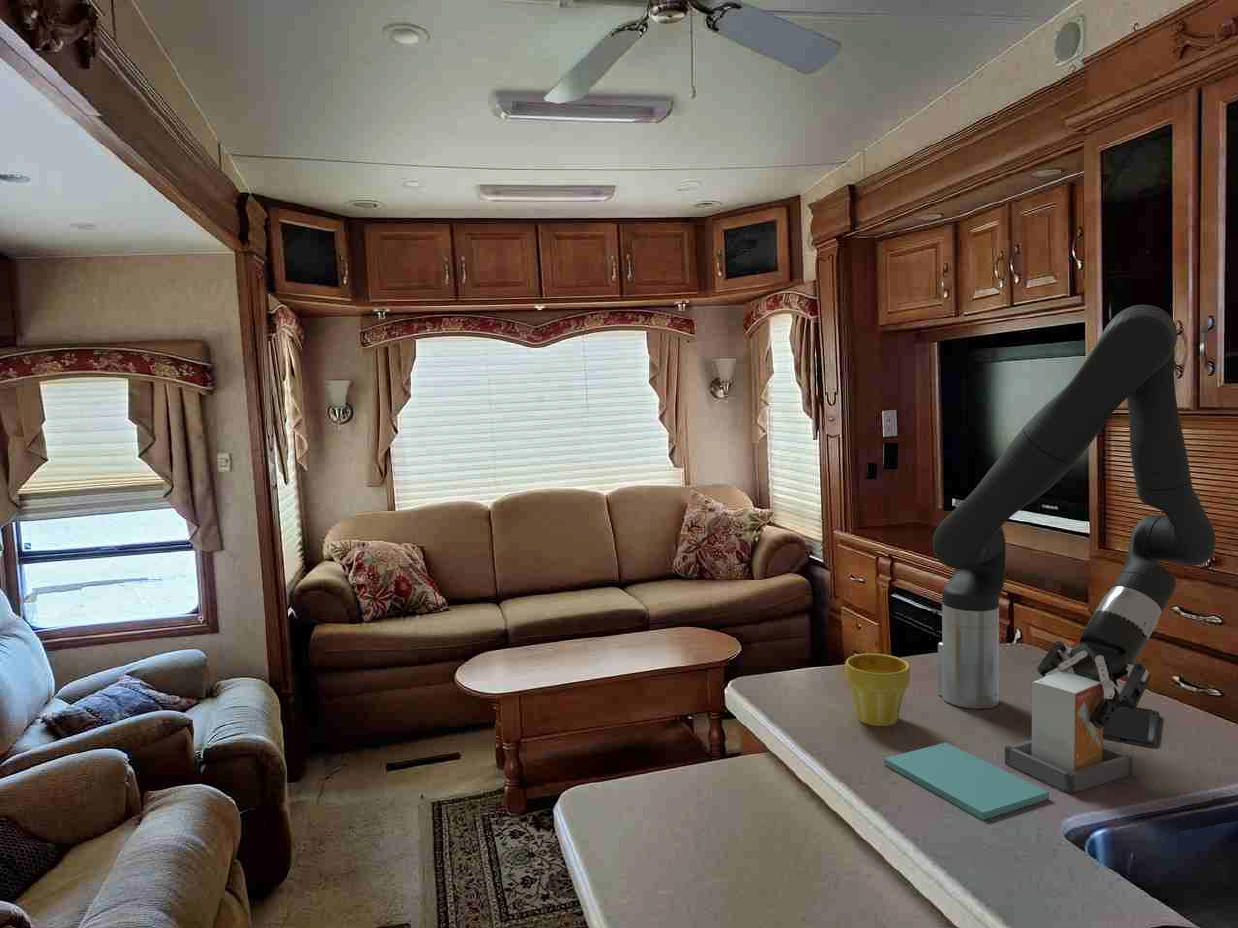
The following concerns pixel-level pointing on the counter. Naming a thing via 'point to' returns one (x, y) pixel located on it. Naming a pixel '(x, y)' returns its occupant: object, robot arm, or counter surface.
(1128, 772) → the tray frame
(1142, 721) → the phone
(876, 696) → the plant pot
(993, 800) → the board
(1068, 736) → the small box
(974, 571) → the robot arm
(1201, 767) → the counter surface
